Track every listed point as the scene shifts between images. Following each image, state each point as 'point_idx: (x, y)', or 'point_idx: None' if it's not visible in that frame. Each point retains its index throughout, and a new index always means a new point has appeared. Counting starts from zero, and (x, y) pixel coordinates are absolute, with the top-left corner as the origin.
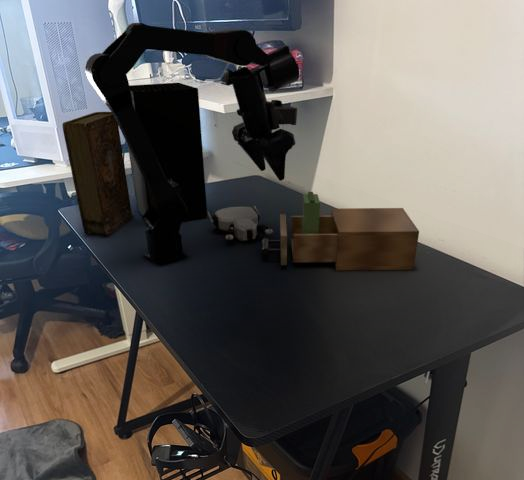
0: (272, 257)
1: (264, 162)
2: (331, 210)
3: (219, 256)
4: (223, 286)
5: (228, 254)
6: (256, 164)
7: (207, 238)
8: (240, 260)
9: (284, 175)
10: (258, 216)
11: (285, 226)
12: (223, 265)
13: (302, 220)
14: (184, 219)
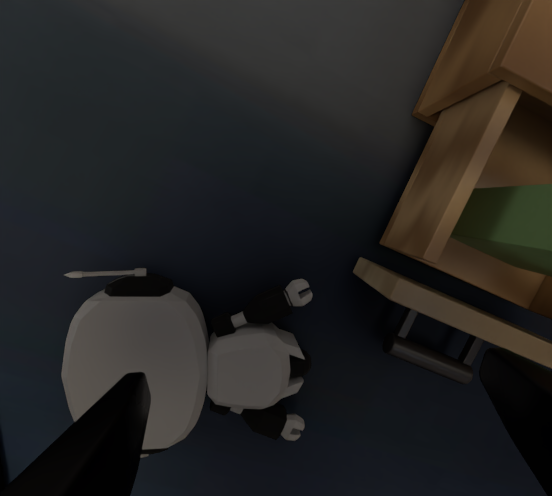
0: (422, 325)
1: (121, 421)
2: (510, 75)
3: (347, 453)
4: (518, 490)
5: (345, 428)
6: (127, 493)
7: (197, 449)
8: (399, 411)
9: (534, 363)
10: (169, 288)
11: (536, 341)
12: (408, 459)
13: (509, 247)
14: (4, 486)
